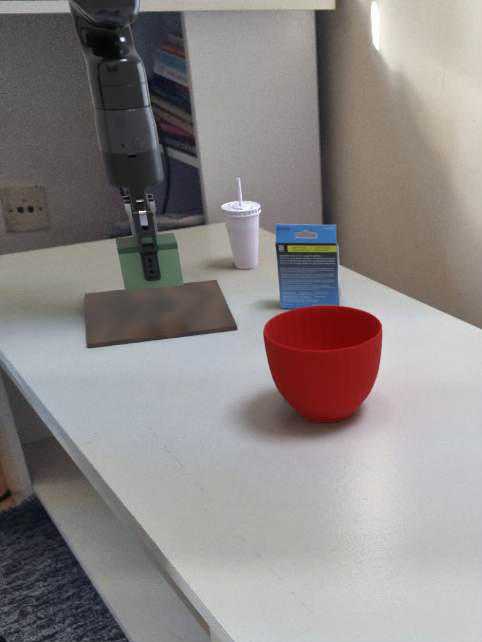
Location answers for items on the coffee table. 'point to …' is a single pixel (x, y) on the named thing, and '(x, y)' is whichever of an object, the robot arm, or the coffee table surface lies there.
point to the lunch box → (134, 268)
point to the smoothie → (242, 230)
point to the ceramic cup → (324, 359)
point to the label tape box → (307, 266)
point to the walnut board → (156, 313)
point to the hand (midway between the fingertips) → (151, 273)
